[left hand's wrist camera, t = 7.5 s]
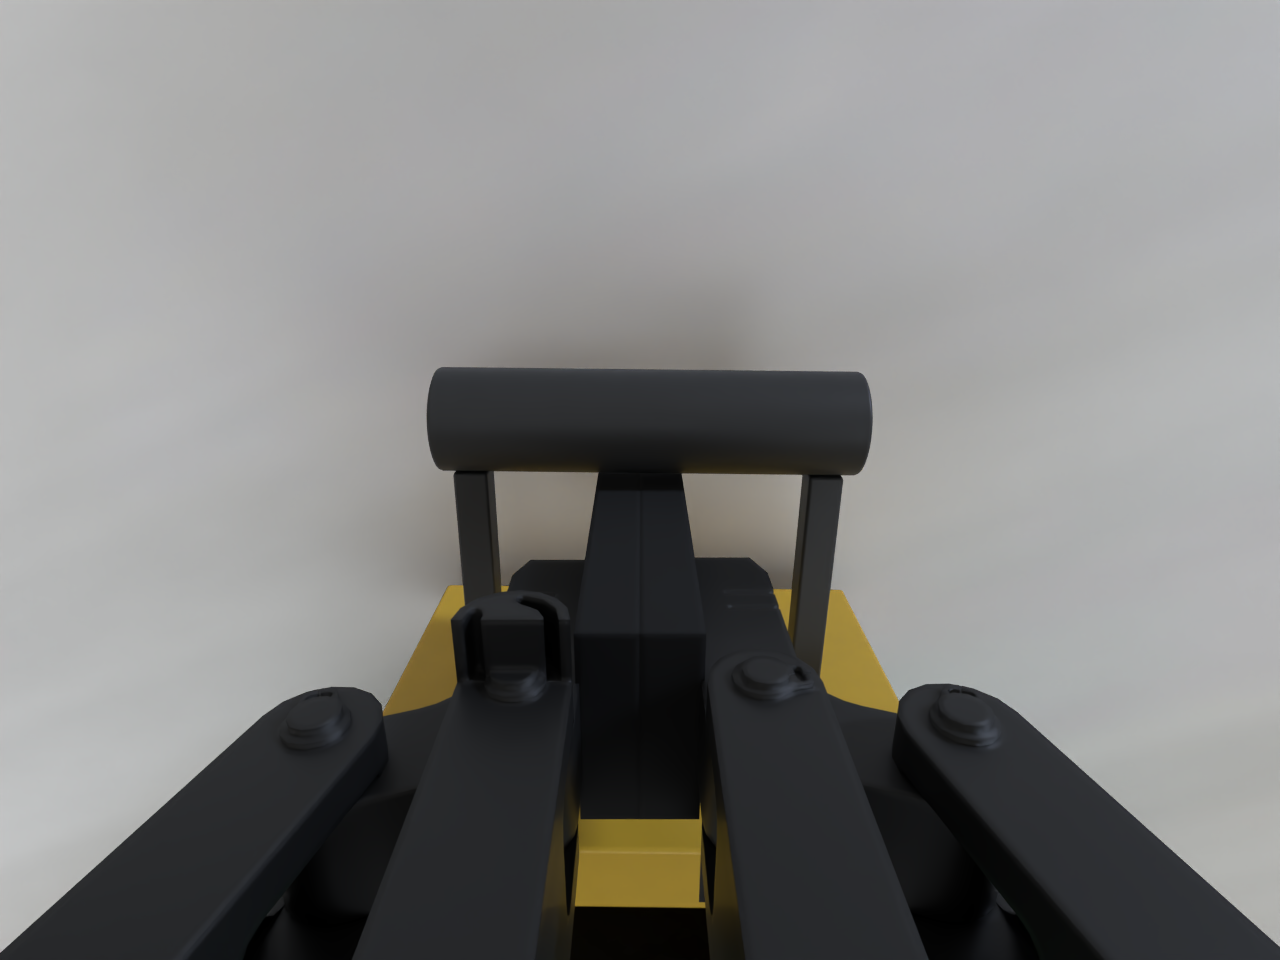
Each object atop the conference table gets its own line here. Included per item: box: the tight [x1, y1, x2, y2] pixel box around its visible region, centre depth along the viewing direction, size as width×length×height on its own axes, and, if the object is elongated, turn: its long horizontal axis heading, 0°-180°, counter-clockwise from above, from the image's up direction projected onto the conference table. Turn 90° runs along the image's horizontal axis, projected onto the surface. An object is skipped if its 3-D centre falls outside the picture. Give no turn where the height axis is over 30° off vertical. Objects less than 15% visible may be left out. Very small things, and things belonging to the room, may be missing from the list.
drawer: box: [383, 367, 899, 960], centre depth 16 cm, size 20×10×8 cm, turn 179°
